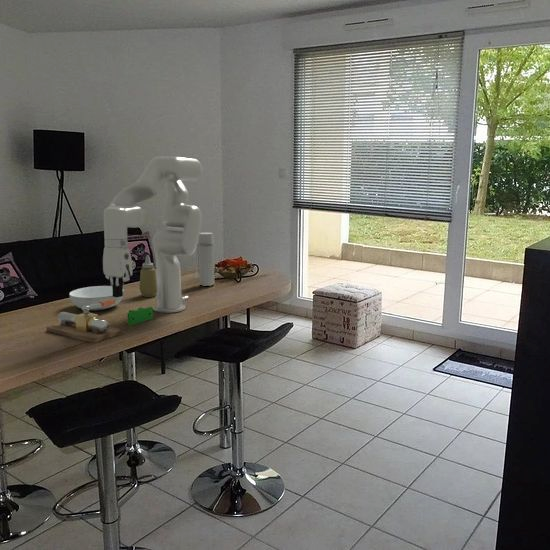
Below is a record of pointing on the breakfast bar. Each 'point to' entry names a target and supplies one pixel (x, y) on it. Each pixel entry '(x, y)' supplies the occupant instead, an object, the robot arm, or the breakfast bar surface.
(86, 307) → the valve lever
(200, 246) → the water bottle
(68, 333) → the valve stand
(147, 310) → the pipe clamp
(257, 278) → the breakfast bar surface
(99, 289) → the serving bowl
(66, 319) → the valve and pipe
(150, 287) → the squeeze bottle
